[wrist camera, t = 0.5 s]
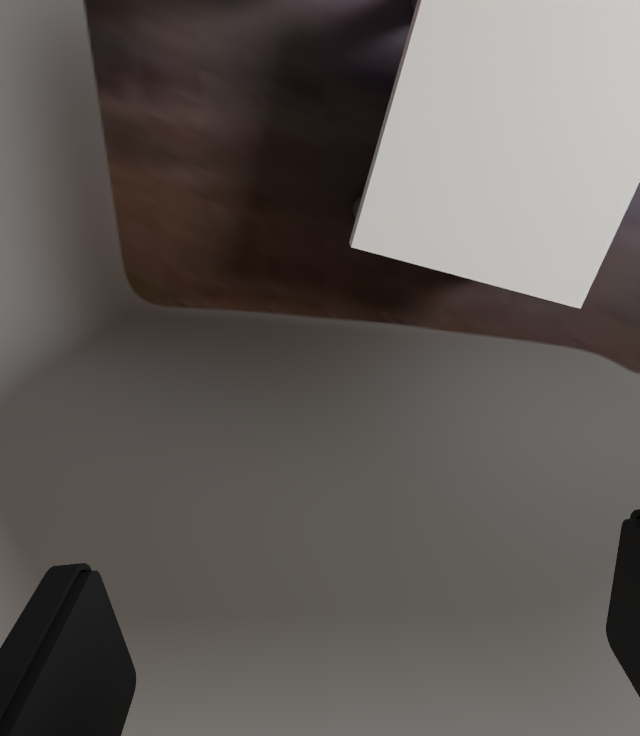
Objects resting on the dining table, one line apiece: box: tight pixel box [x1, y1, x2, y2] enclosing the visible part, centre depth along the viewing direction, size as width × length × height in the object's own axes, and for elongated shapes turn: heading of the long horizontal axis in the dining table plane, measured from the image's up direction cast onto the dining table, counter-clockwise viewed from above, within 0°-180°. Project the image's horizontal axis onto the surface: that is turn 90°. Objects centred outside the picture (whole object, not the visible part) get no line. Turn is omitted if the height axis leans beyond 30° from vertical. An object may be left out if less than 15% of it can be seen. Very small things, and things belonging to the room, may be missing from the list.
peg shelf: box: [349, 0, 640, 309], centre depth 31 cm, size 16×14×10 cm
